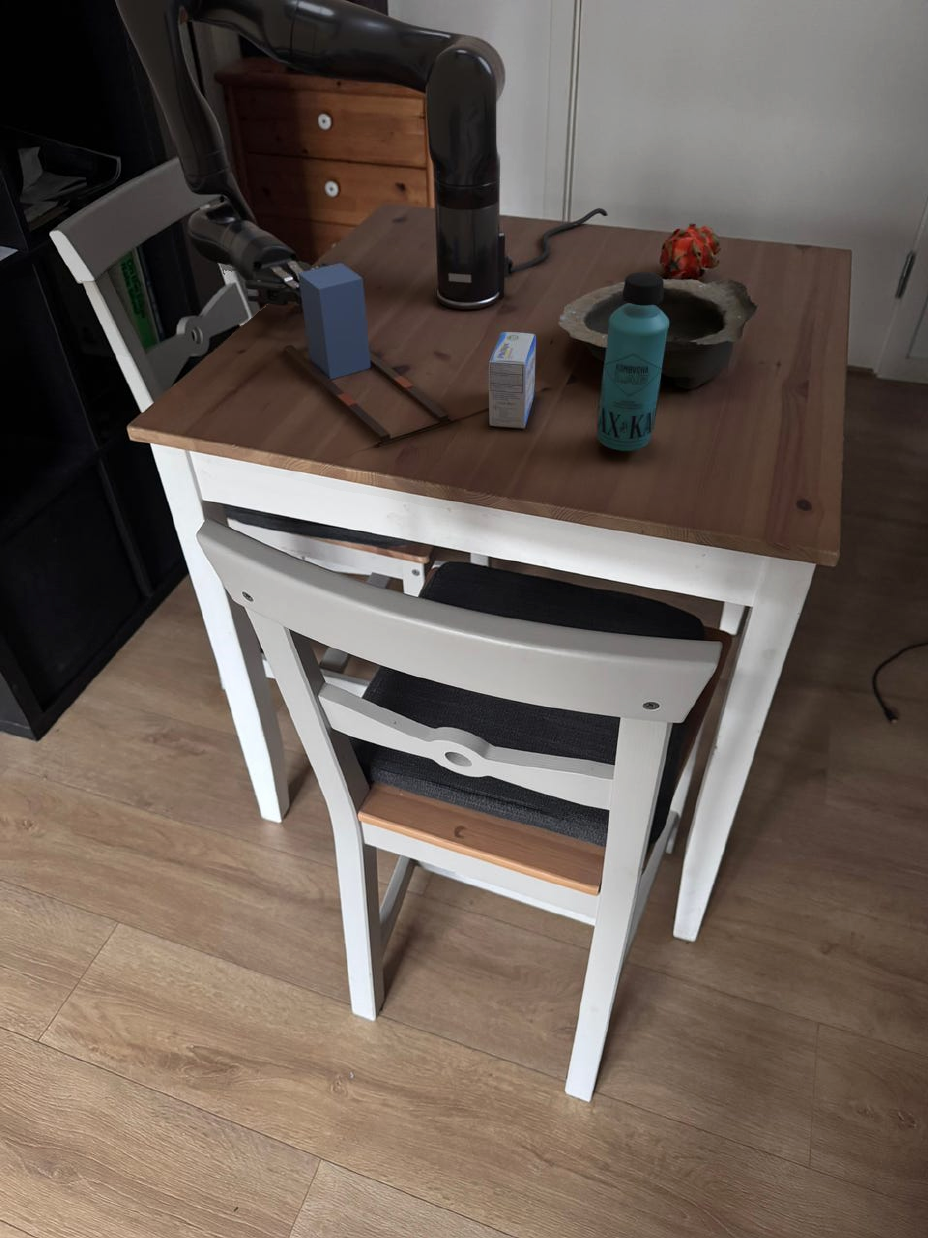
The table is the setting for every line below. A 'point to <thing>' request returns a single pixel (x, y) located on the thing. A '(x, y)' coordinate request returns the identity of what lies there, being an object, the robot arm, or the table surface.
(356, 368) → the block
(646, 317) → the beverage bottle
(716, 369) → the stone bowl
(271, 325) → the table surface
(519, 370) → the medicine box
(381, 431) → the track
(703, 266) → the dragon fruit
